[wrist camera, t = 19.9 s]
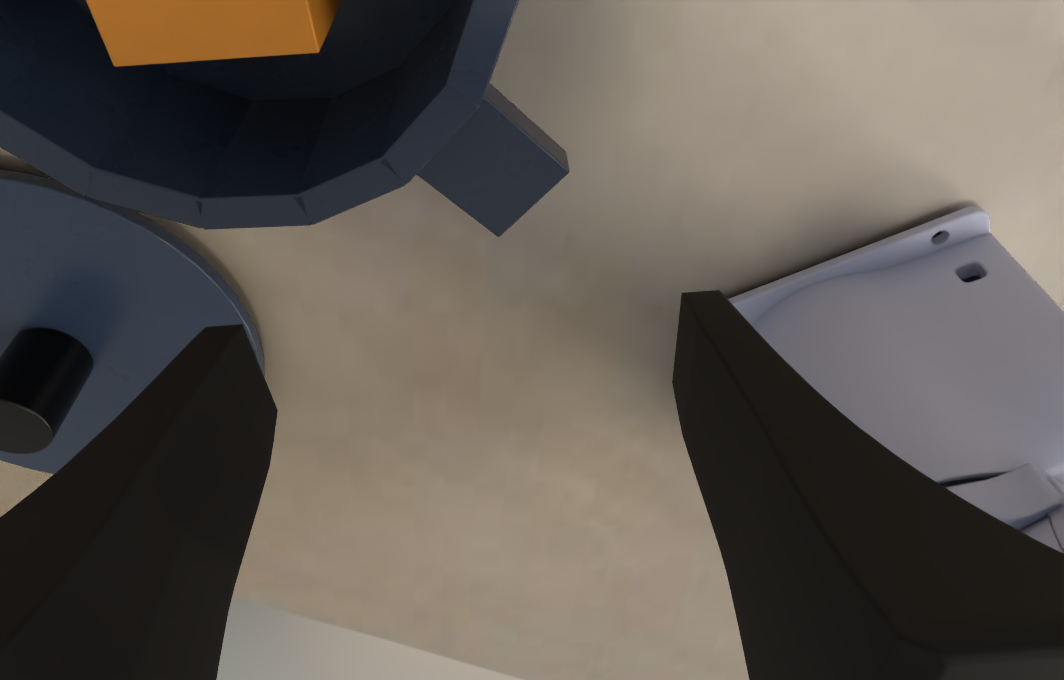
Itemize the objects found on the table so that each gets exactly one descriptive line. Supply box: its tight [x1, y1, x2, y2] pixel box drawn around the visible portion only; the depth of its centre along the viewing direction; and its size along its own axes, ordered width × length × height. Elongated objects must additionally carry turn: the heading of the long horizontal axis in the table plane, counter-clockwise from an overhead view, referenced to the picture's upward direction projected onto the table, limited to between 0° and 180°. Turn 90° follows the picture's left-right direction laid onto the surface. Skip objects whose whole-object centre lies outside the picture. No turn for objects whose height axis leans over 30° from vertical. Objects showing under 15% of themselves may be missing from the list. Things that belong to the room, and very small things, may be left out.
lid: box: [0, 170, 265, 474], centre depth 23 cm, size 13×13×4 cm
